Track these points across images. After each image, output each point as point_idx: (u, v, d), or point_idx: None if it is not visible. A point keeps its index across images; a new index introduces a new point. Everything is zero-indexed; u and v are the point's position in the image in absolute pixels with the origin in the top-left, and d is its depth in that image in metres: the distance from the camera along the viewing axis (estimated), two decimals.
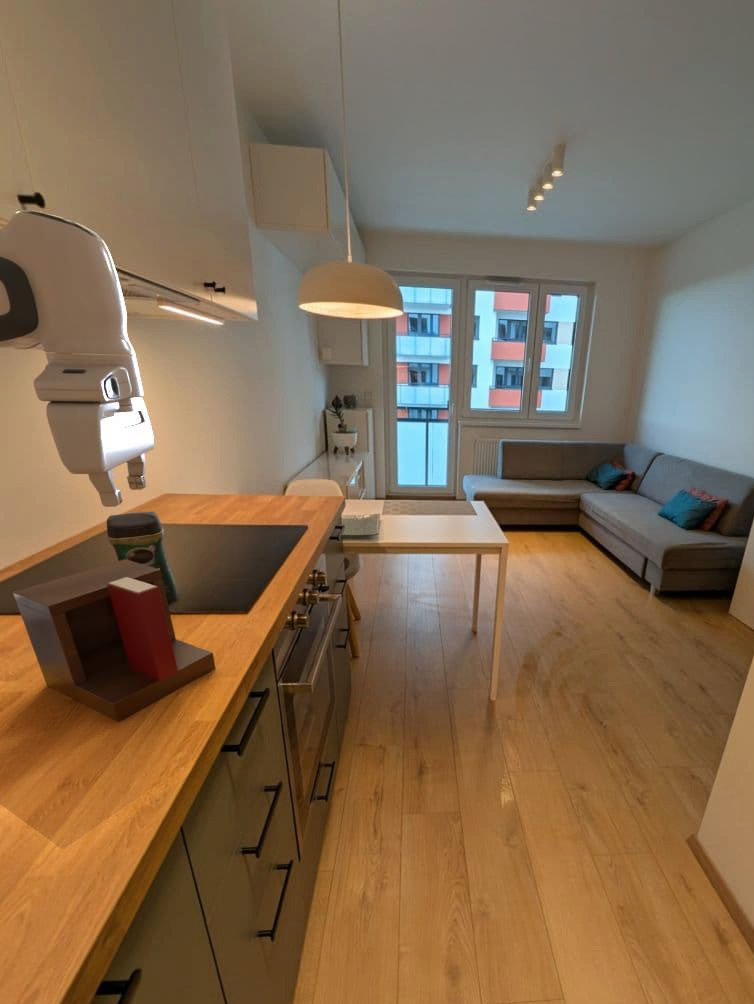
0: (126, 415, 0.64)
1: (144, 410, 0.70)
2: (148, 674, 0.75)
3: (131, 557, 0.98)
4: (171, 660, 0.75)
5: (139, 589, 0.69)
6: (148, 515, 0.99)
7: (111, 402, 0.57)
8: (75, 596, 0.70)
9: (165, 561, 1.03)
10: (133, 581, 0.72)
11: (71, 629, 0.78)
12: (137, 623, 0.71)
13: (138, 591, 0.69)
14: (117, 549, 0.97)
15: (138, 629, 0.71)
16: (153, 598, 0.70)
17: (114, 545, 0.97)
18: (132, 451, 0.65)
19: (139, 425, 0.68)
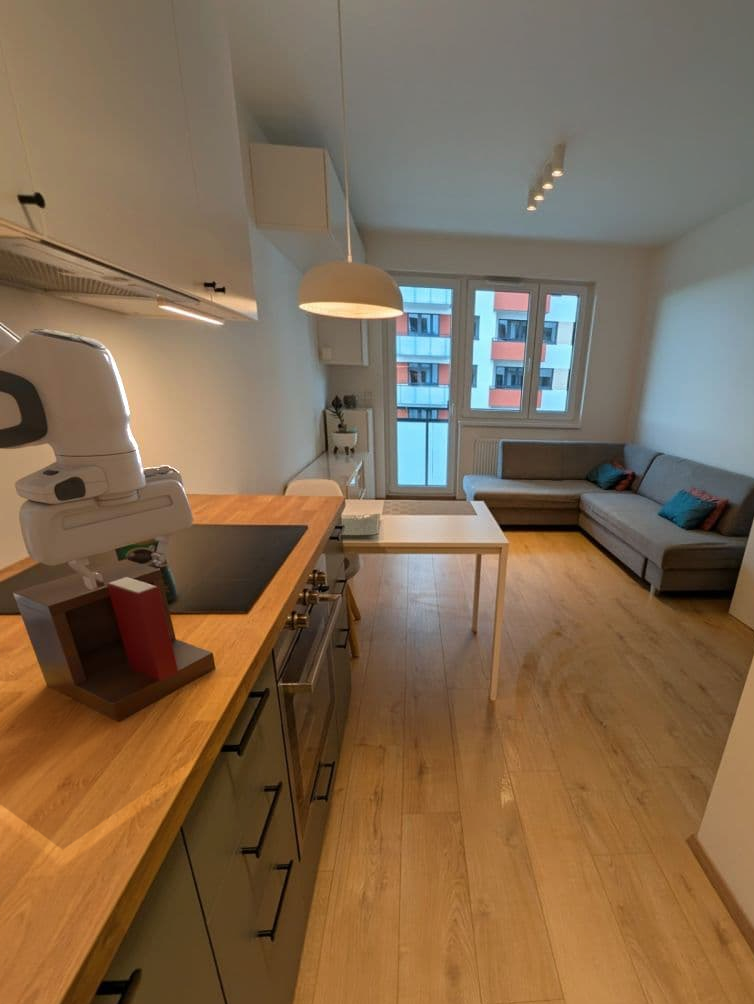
0: (133, 503, 0.67)
1: (177, 494, 0.72)
2: (148, 674, 0.75)
3: (131, 557, 0.98)
4: (171, 660, 0.75)
5: (139, 589, 0.69)
6: None
7: (77, 501, 0.60)
8: (75, 596, 0.70)
9: None
10: (133, 581, 0.72)
11: (71, 629, 0.78)
12: (137, 623, 0.71)
13: (138, 591, 0.69)
14: (117, 549, 0.97)
15: (138, 629, 0.71)
16: (153, 598, 0.70)
17: None
18: (130, 537, 0.67)
19: (159, 510, 0.70)
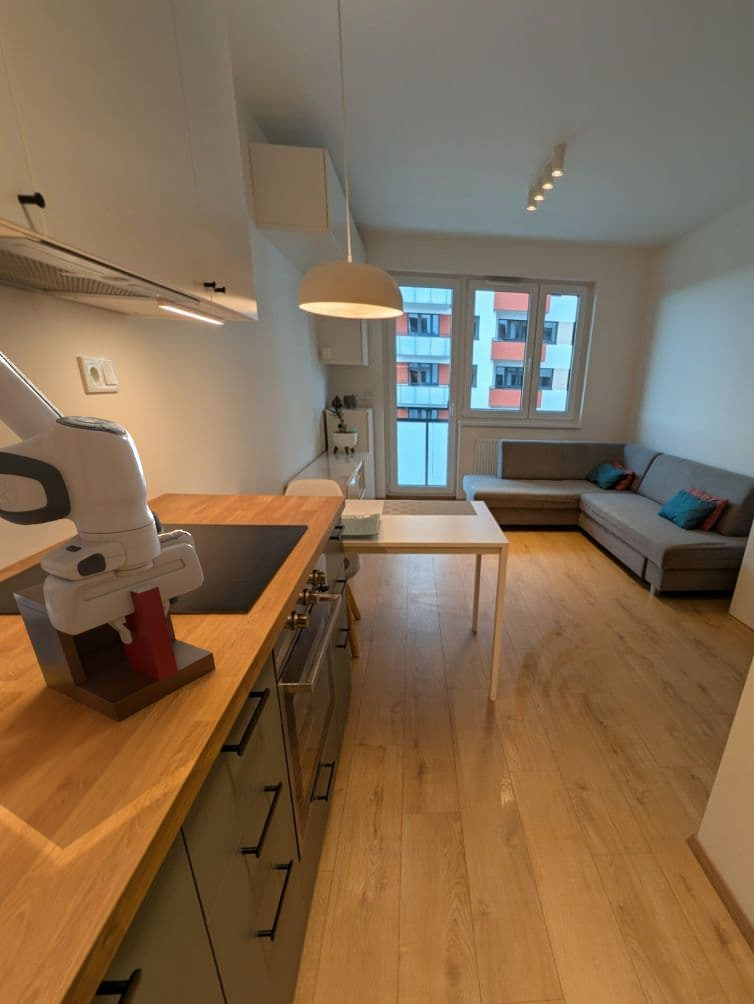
0: (148, 569, 0.71)
1: (189, 556, 0.76)
2: (148, 674, 0.75)
3: None
4: (171, 660, 0.75)
5: (139, 589, 0.69)
6: None
7: (97, 574, 0.64)
8: None
9: None
10: None
11: None
12: (137, 623, 0.71)
13: (138, 591, 0.69)
14: None
15: (138, 629, 0.71)
16: (153, 598, 0.70)
17: None
18: None
19: (172, 573, 0.74)
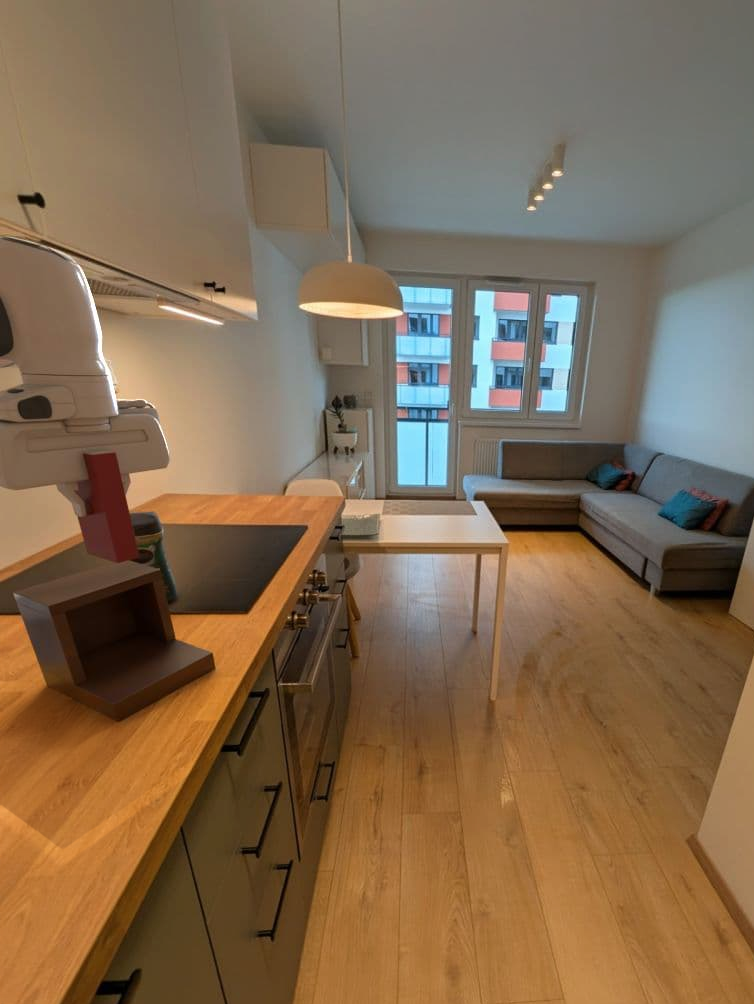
0: (105, 434, 0.64)
1: (152, 429, 0.69)
2: (105, 556, 0.68)
3: None
4: (131, 541, 0.68)
5: (93, 452, 0.63)
6: (148, 515, 0.99)
7: (42, 422, 0.57)
8: (75, 596, 0.70)
9: (165, 561, 1.03)
10: None
11: (71, 629, 0.78)
12: (92, 493, 0.64)
13: (92, 453, 0.62)
14: None
15: (93, 501, 0.65)
16: (109, 464, 0.64)
17: None
18: None
19: (133, 444, 0.67)
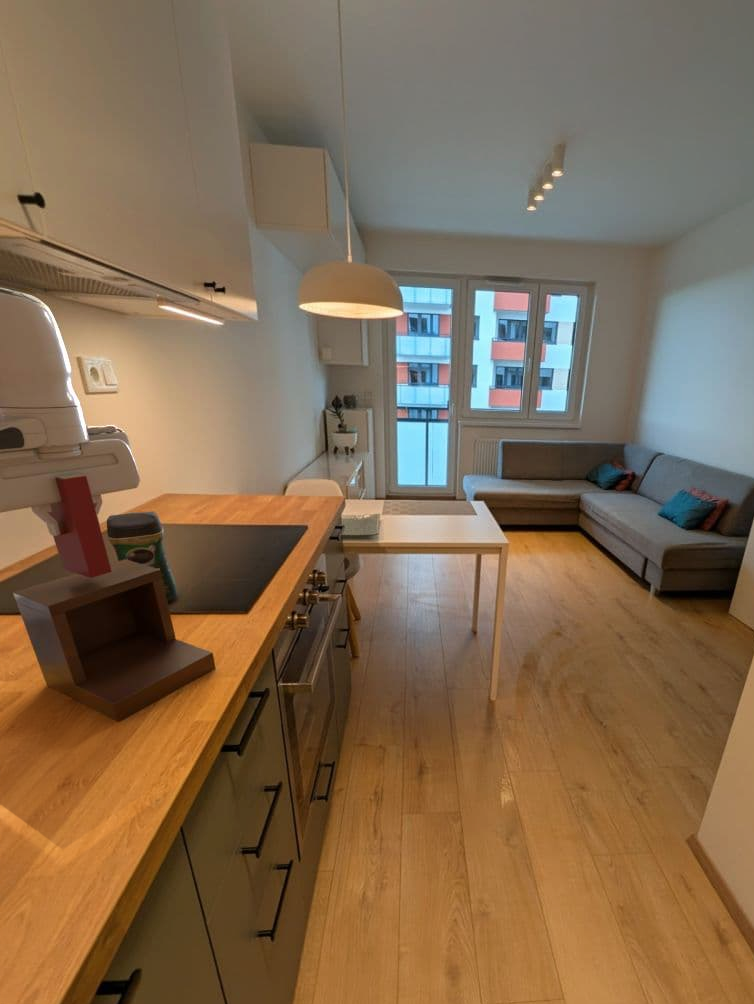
0: (76, 459, 0.69)
1: (122, 453, 0.74)
2: (79, 571, 0.73)
3: (131, 557, 0.98)
4: (103, 557, 0.73)
5: (65, 476, 0.68)
6: (148, 515, 0.99)
7: (15, 451, 0.62)
8: (75, 596, 0.70)
9: (165, 561, 1.03)
10: None
11: (71, 629, 0.78)
12: (65, 513, 0.69)
13: (63, 477, 0.67)
14: (117, 549, 0.97)
15: (66, 521, 0.70)
16: (80, 487, 0.69)
17: (114, 545, 0.97)
18: None
19: (104, 467, 0.72)
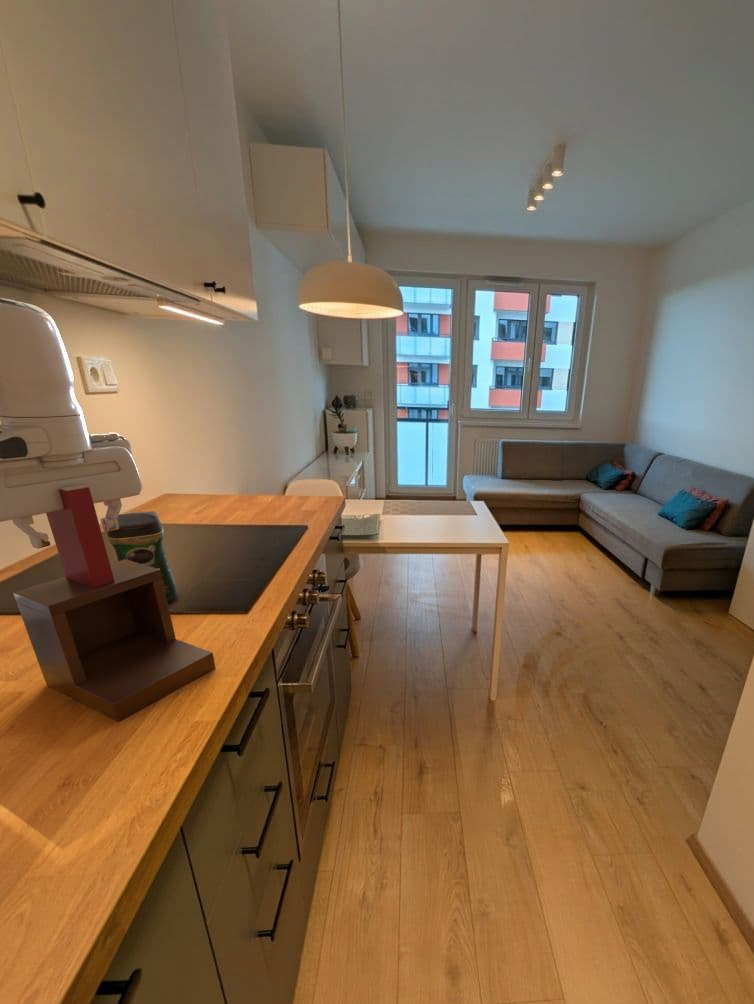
0: (79, 467, 0.70)
1: (124, 460, 0.75)
2: (83, 581, 0.74)
3: (131, 557, 0.98)
4: (106, 567, 0.74)
5: (68, 487, 0.68)
6: (148, 515, 0.99)
7: (19, 460, 0.63)
8: (75, 596, 0.70)
9: (165, 561, 1.03)
10: None
11: (71, 629, 0.78)
12: (68, 524, 0.70)
13: (67, 489, 0.68)
14: (117, 549, 0.97)
15: (69, 532, 0.71)
16: (83, 498, 0.69)
17: (114, 545, 0.97)
18: None
19: (106, 475, 0.73)
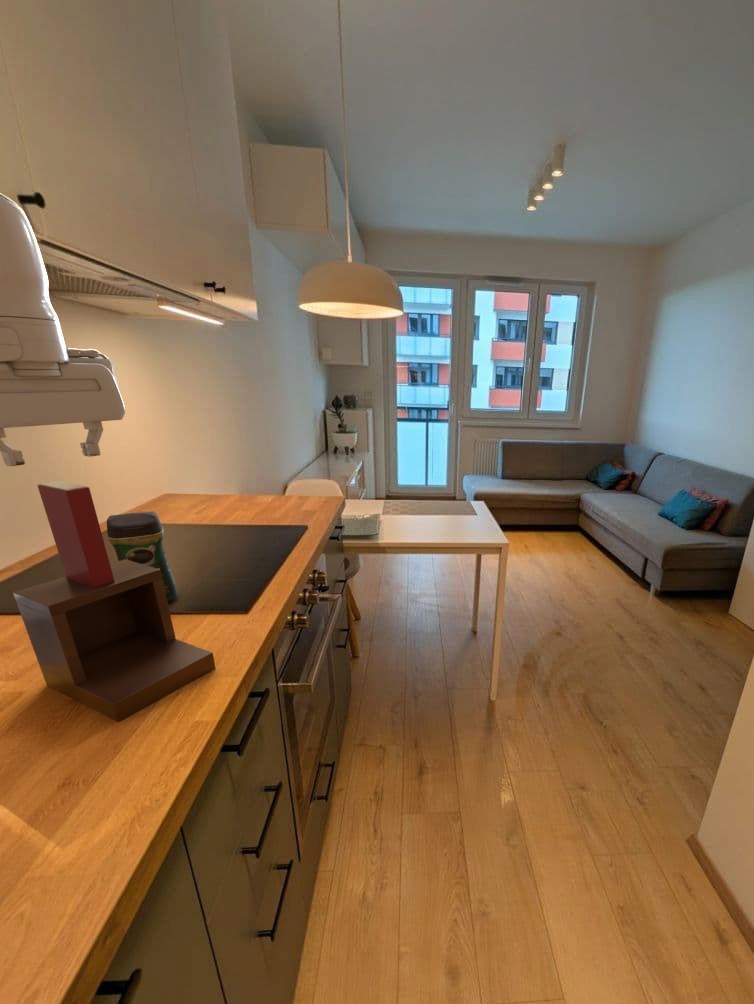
0: (55, 380, 0.65)
1: (105, 379, 0.70)
2: (83, 581, 0.74)
3: (132, 557, 0.98)
4: (106, 567, 0.74)
5: (68, 487, 0.68)
6: (148, 515, 0.99)
7: None
8: (75, 596, 0.70)
9: (165, 561, 1.03)
10: (64, 483, 0.71)
11: (71, 629, 0.78)
12: (68, 524, 0.70)
13: (67, 489, 0.68)
14: (117, 549, 0.97)
15: (69, 532, 0.71)
16: (83, 498, 0.69)
17: (114, 545, 0.97)
18: (53, 416, 0.66)
19: (85, 393, 0.68)
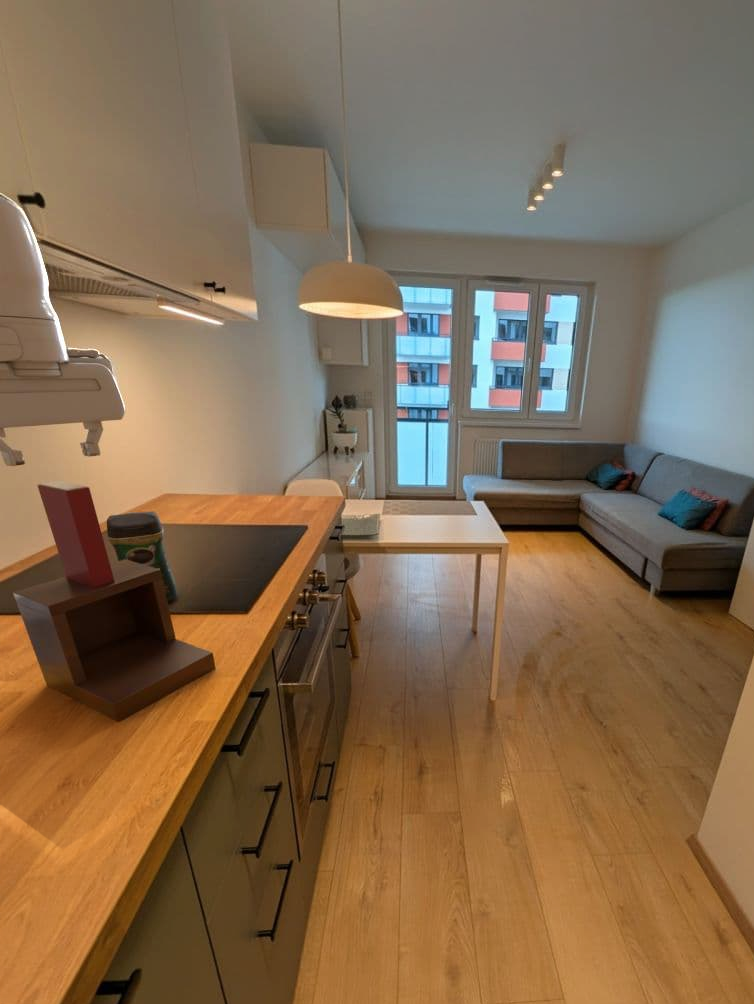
0: (55, 380, 0.65)
1: (105, 379, 0.70)
2: (83, 581, 0.74)
3: (131, 557, 0.98)
4: (106, 567, 0.74)
5: (68, 487, 0.68)
6: (148, 515, 0.99)
7: None
8: (75, 596, 0.70)
9: (165, 561, 1.03)
10: (64, 483, 0.71)
11: (71, 629, 0.78)
12: (68, 524, 0.70)
13: (67, 489, 0.68)
14: (117, 549, 0.97)
15: (69, 532, 0.71)
16: (83, 498, 0.69)
17: (114, 545, 0.97)
18: (53, 416, 0.66)
19: (85, 393, 0.68)
